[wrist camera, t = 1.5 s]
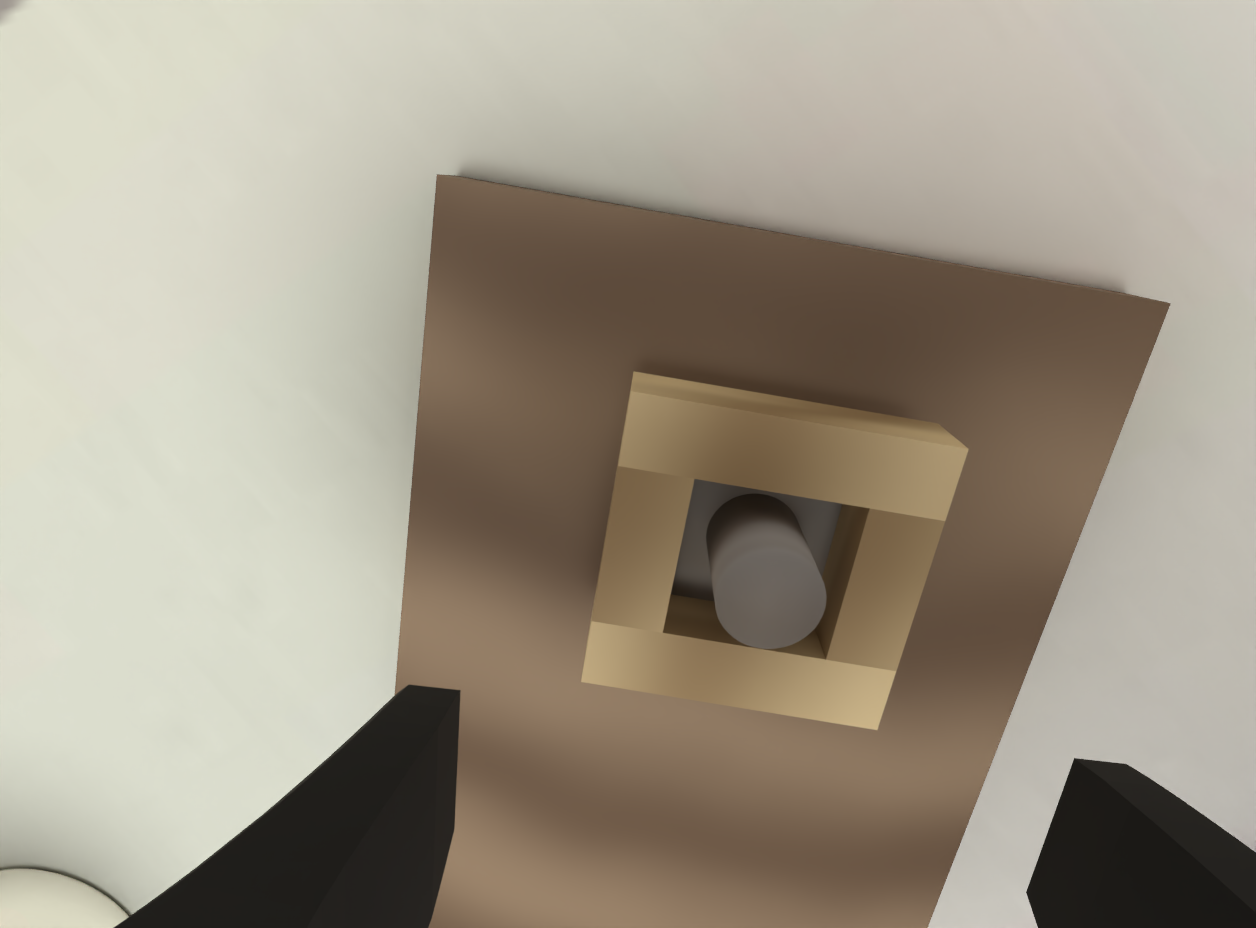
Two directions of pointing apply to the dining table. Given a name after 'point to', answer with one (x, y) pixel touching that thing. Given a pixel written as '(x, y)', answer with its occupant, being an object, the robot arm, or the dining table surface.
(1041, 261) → the dining table surface
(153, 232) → the dining table surface
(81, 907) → the beer glass
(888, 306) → the board
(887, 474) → the square wooden ring
